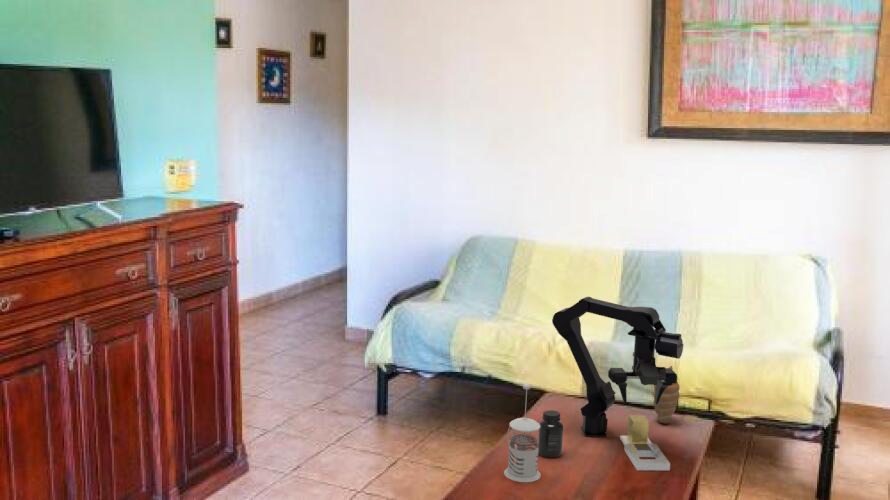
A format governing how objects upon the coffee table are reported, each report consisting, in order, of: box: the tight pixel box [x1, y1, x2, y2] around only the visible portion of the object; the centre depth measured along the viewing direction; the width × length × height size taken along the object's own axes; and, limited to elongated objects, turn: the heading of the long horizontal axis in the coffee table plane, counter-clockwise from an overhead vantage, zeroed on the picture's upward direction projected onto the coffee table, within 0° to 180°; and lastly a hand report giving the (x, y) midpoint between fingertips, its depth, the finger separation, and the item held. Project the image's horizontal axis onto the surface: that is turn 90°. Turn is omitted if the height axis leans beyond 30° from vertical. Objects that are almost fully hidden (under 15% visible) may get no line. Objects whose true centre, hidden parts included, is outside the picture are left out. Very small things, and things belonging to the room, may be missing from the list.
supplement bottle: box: [537, 409, 564, 459], centre depth 232 cm, size 7×7×12 cm
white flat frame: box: [623, 443, 671, 472], centre depth 231 cm, size 9×13×2 cm
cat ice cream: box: [652, 365, 681, 425], centre depth 256 cm, size 9×8×18 cm
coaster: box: [619, 435, 653, 446], centre depth 242 cm, size 8×8×1 cm
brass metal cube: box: [626, 414, 650, 444], centre depth 241 cm, size 5×5×7 cm
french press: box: [503, 383, 541, 483], centre depth 219 cm, size 10×12×25 cm
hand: (640, 403), depth 239 cm, fingers open, 9 cm apart
